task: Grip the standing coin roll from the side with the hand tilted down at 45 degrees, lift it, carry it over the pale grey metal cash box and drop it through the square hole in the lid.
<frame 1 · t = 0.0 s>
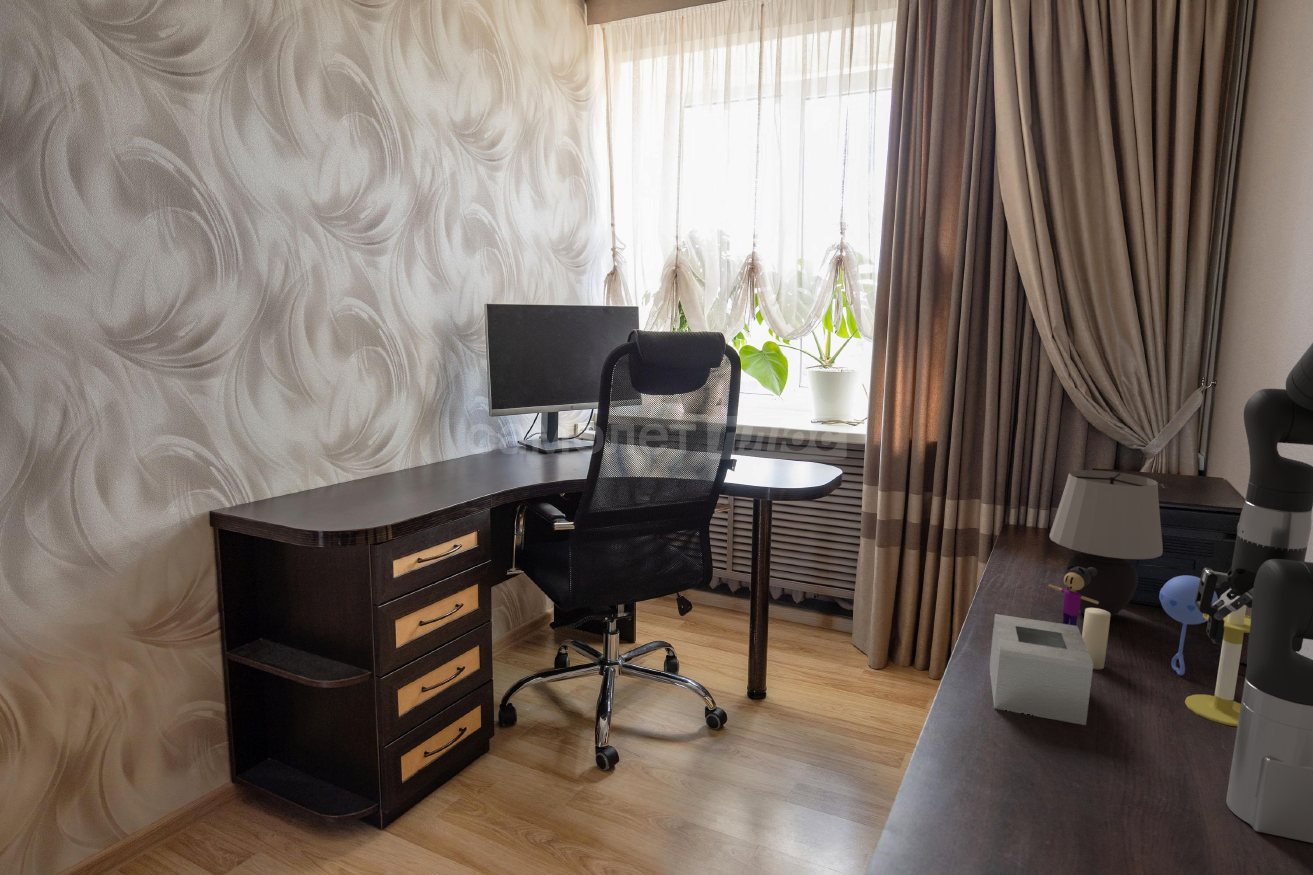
hand: (1251, 646, 108), 17 cm above the table, tool pointing down, fingers open, 8 cm apart
table lamp: (1095, 615, 165), on the table
coin roll: (1091, 664, 141), on the table
candle: (1221, 712, 125), on the table
toy: (1070, 640, 152), on the table
cashbox: (1034, 693, 129), on the table
baby rattle: (1178, 674, 138), on the table
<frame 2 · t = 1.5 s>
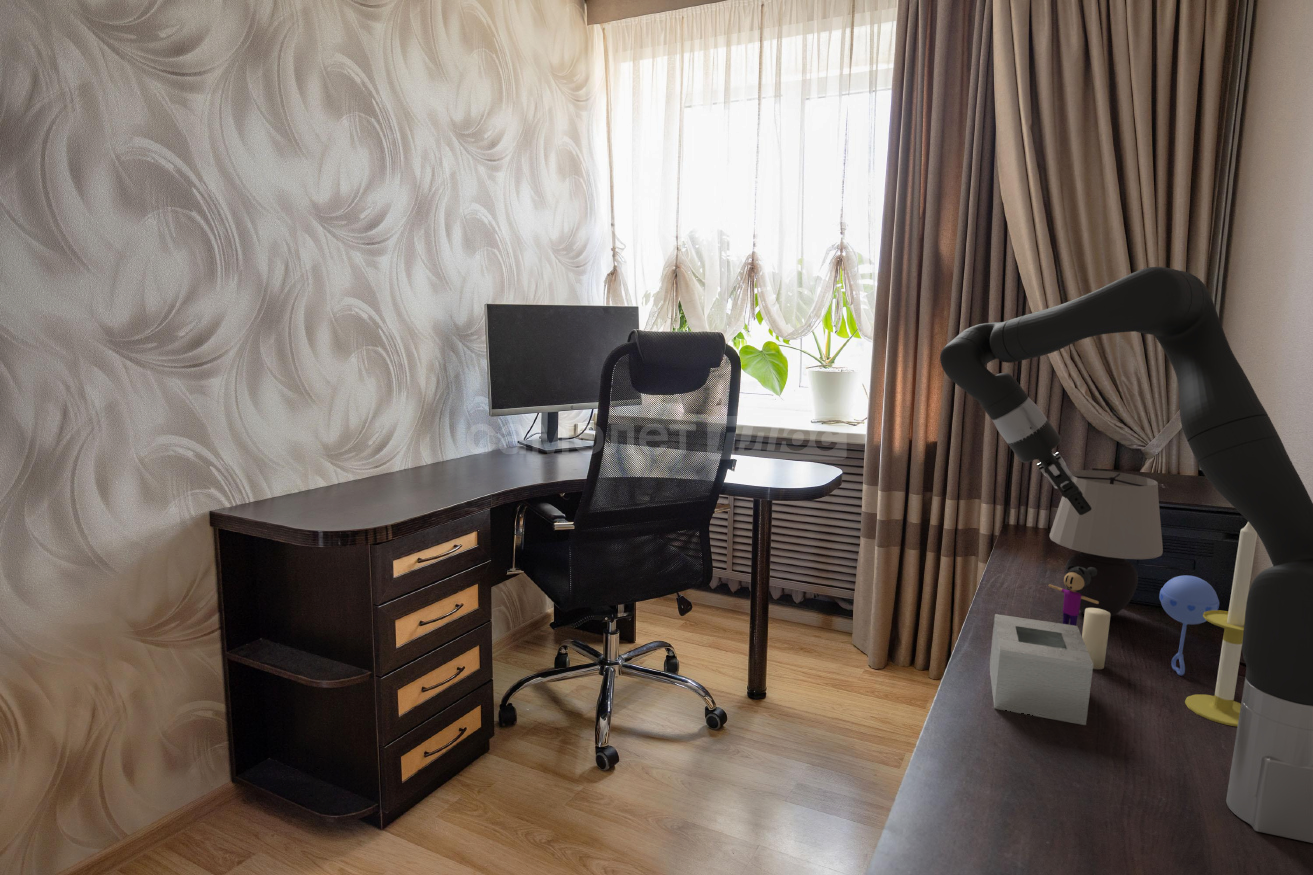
hand: (1081, 504, 134), 30 cm above the table, tool tilted 40°, fingers open, 8 cm apart
nothing on the table moved.
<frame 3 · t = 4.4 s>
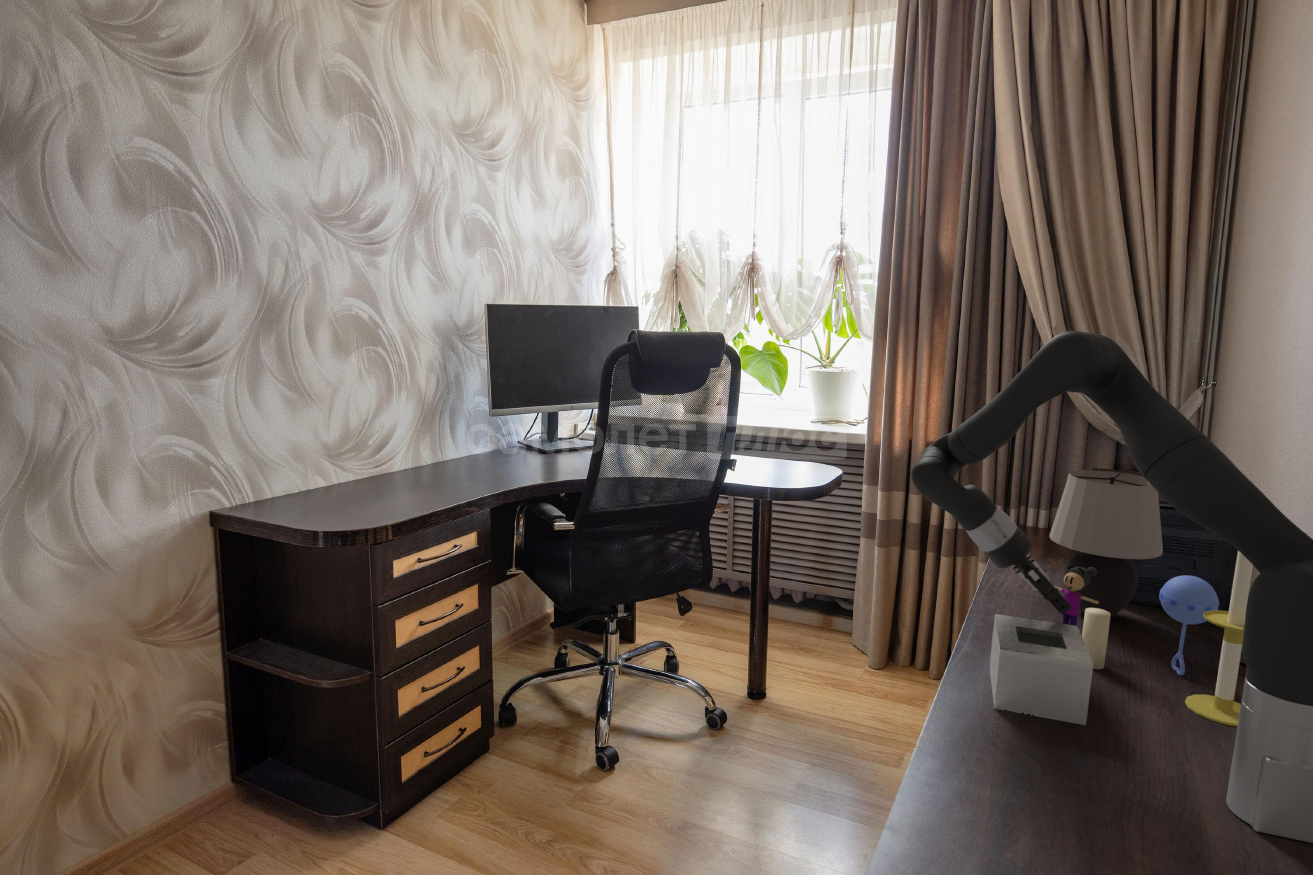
hand: (1058, 602, 140), 11 cm above the table, tool tilted 45°, fingers open, 8 cm apart
nothing on the table moved.
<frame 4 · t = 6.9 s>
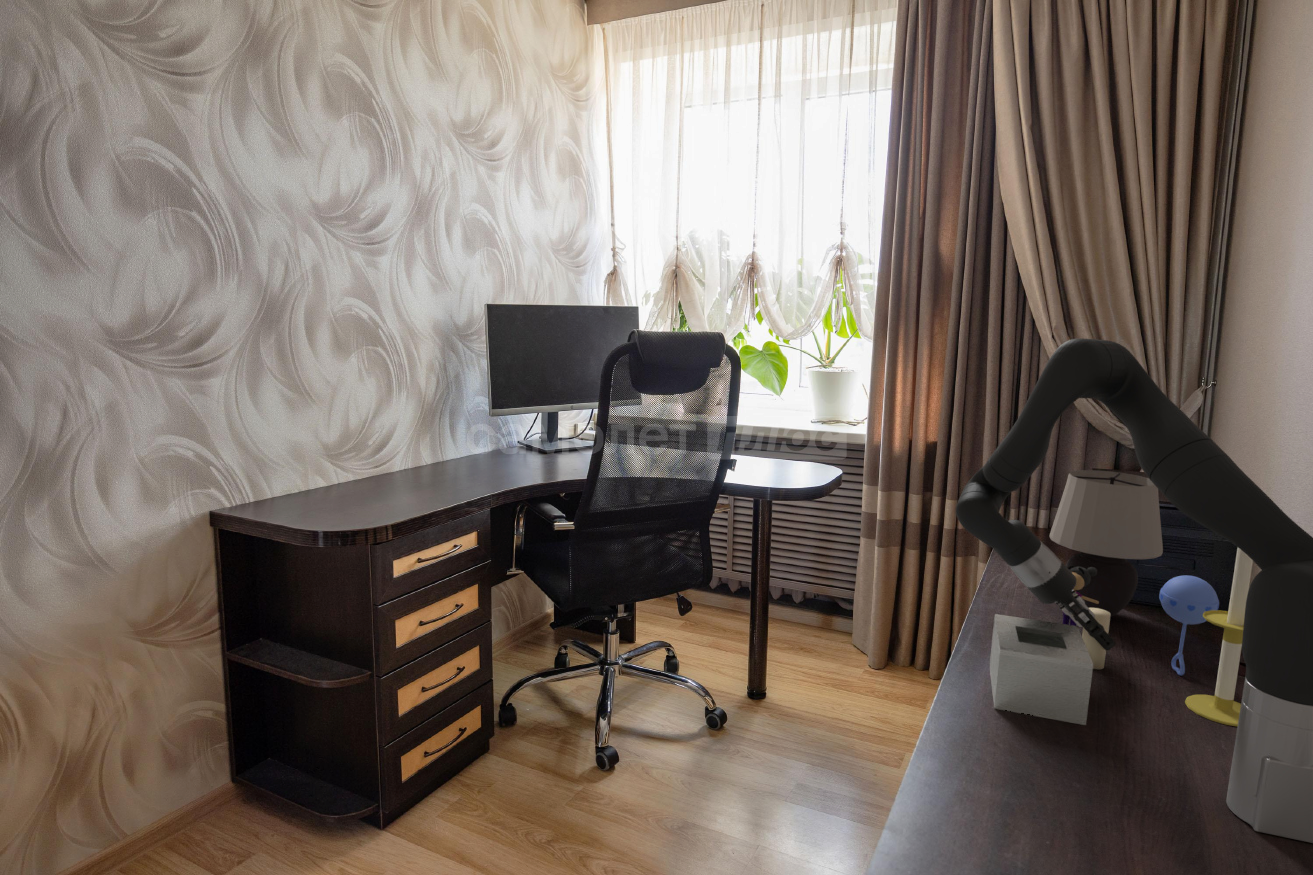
hand: (1105, 641, 140), 5 cm above the table, tool tilted 45°, fingers closed on coin roll, 4 cm apart
coin roll: (1091, 664, 141), on the table, touching gripper
everything else where it was.
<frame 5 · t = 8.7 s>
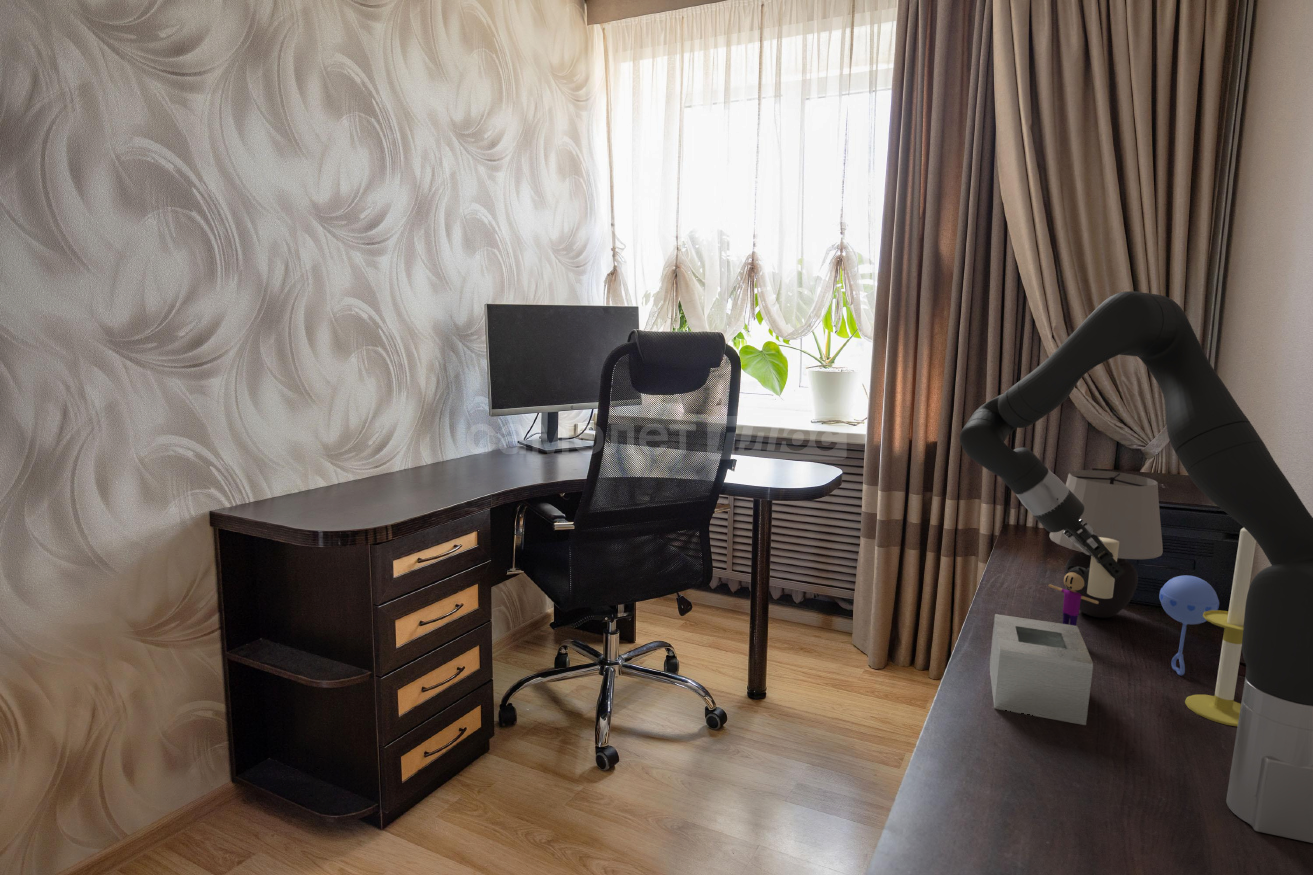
hand: (1114, 570, 138), 18 cm above the table, tool tilted 45°, fingers closed on coin roll, 4 cm apart
coin roll: (1099, 594, 139), point 13 cm above the table, touching gripper
everything else where it was.
when the fingers open (15 cm above the table, at t = 10.7 s): coin roll drops 10 cm, resting on cashbox.
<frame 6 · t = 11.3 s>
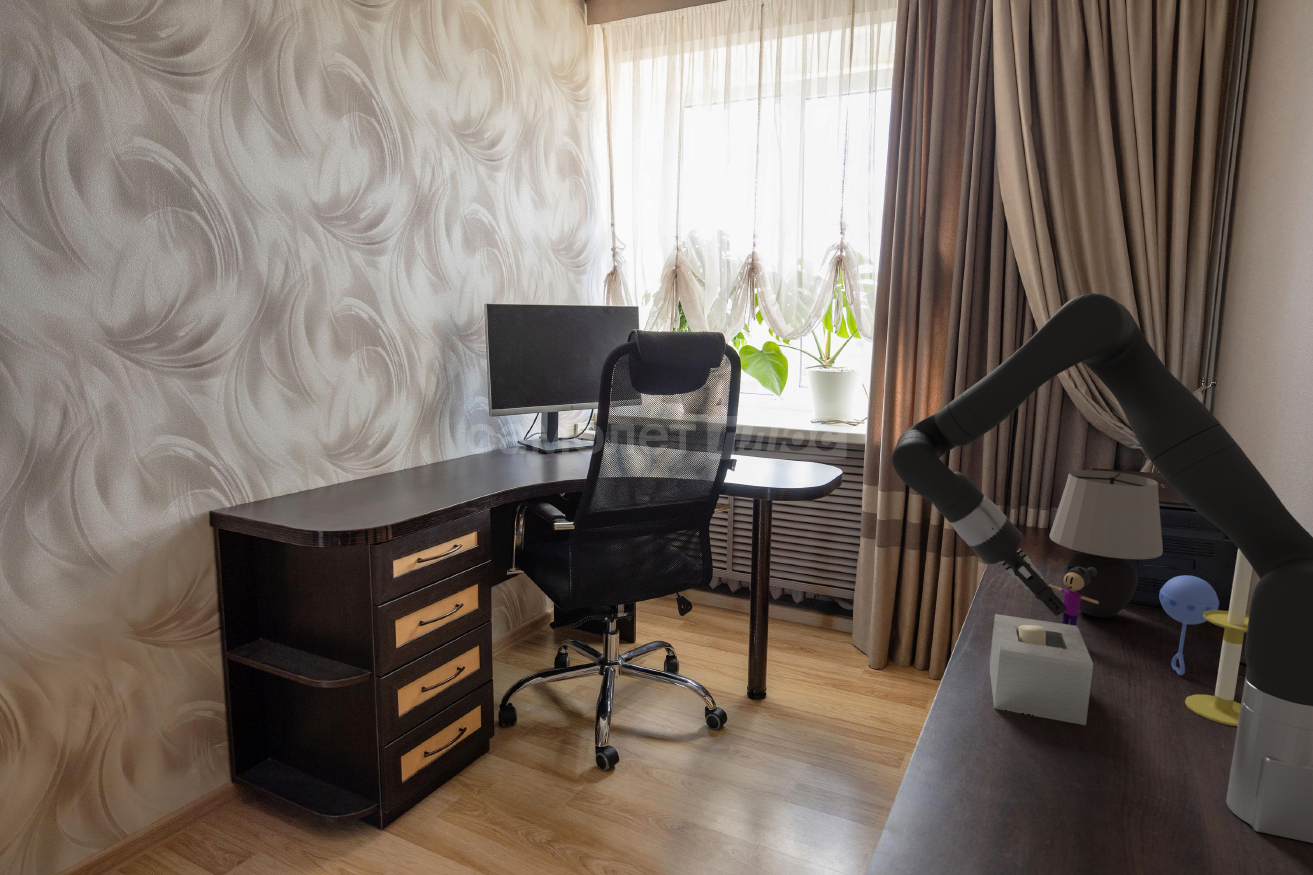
hand: (1053, 602, 126), 16 cm above the table, tool tilted 45°, fingers open, 8 cm apart
coin roll: (1033, 687, 129), point 1 cm above the table, tilted 8°, touching cashbox
everything else where it was.
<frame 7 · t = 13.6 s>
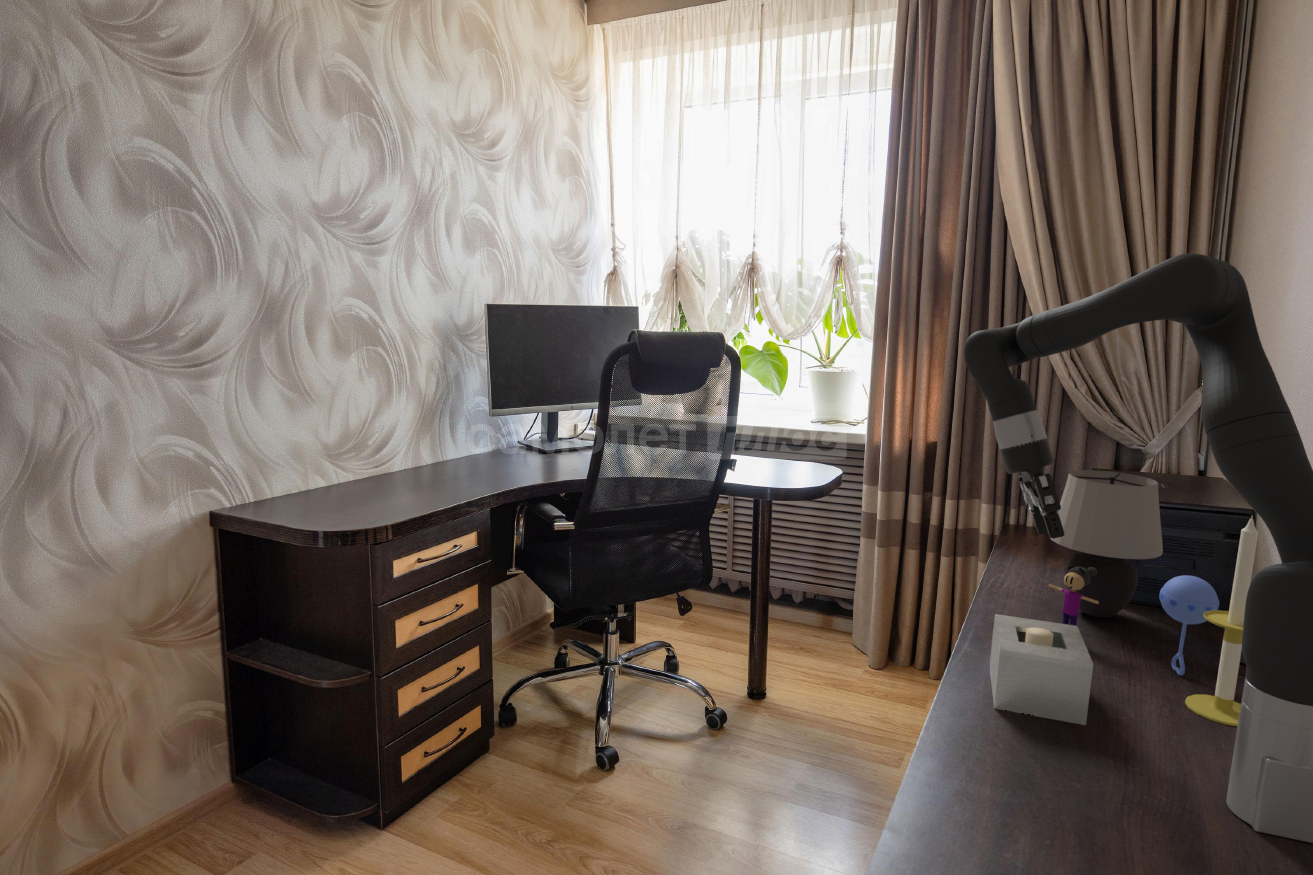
hand: (1051, 535, 130), 26 cm above the table, tool tilted 20°, fingers open, 8 cm apart
coin roll: (1033, 689, 129), point 1 cm above the table, touching cashbox
everything else where it was.
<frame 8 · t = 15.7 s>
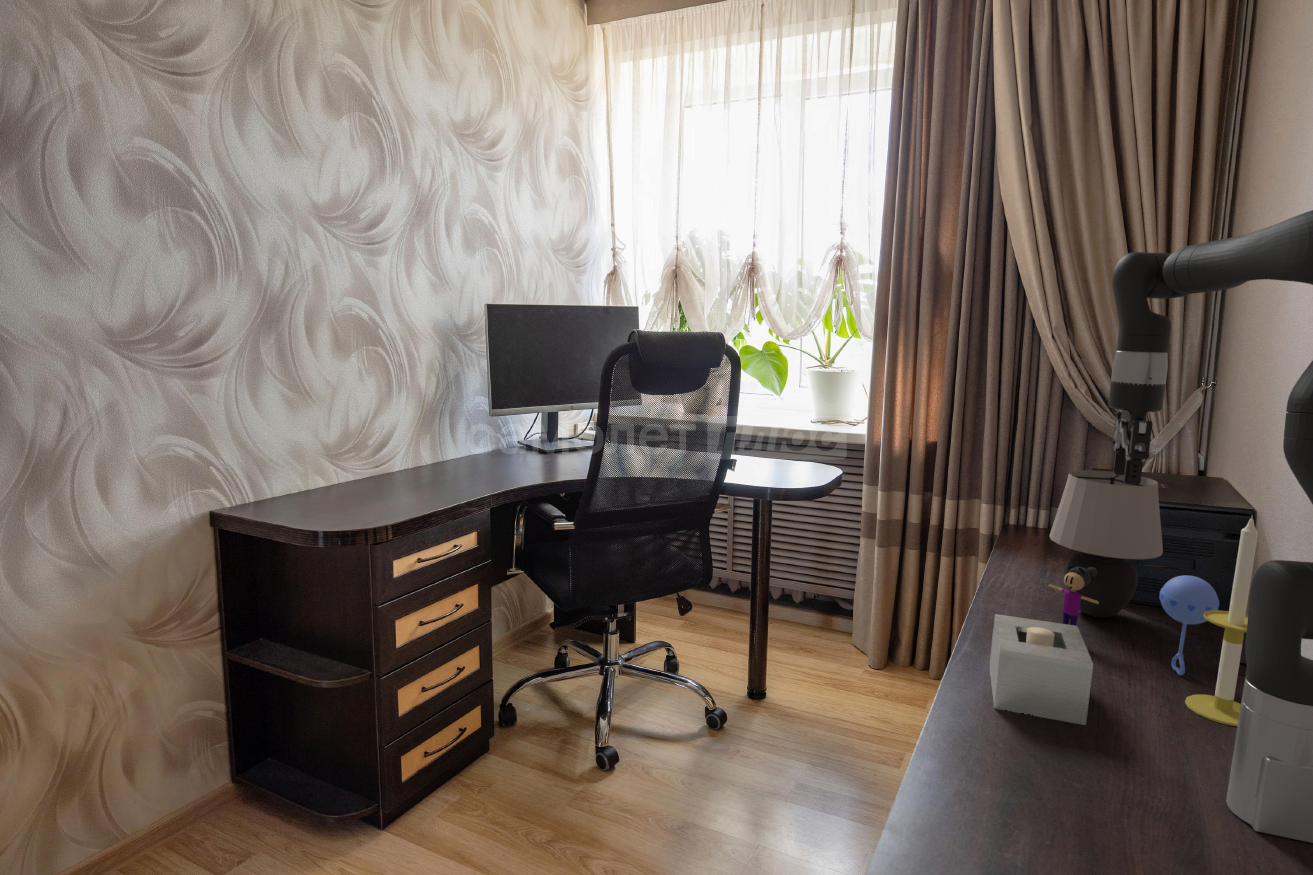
hand: (1125, 479, 127), 36 cm above the table, tool pointing down, fingers open, 8 cm apart
nothing on the table moved.
at the end: coin roll inside the target area on the cashbox (0.1 cm from its centre), point 0.8 cm above the cashbox's base; the gripper is holding nothing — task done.
